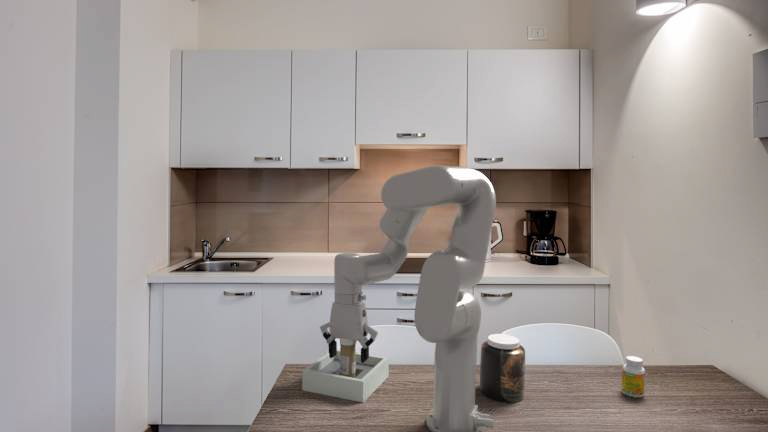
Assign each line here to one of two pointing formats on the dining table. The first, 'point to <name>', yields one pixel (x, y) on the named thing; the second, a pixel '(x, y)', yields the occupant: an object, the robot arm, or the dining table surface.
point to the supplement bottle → (633, 377)
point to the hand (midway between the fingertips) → (348, 358)
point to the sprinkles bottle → (347, 358)
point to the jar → (502, 368)
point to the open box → (329, 381)
